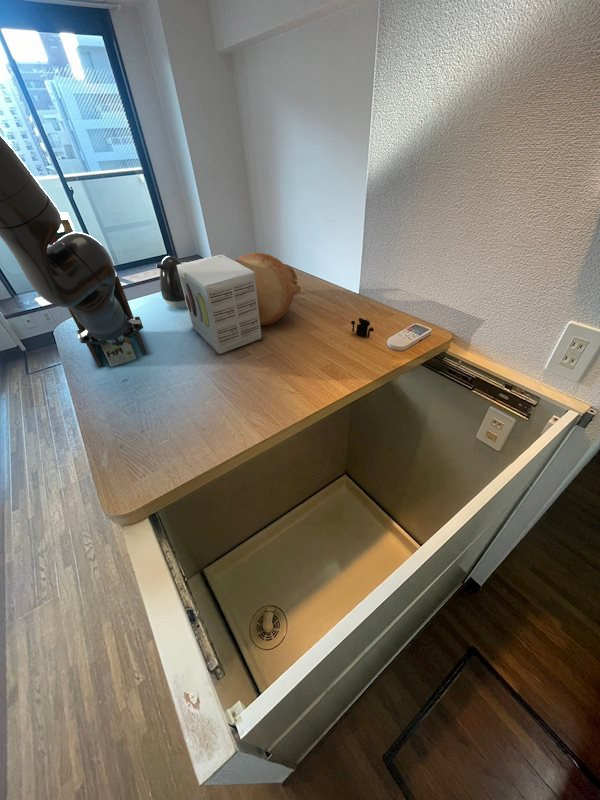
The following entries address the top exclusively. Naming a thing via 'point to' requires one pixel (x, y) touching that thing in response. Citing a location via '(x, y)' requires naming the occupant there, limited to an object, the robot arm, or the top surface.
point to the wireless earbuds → (362, 327)
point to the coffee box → (118, 352)
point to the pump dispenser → (171, 283)
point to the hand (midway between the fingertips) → (118, 341)
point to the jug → (271, 285)
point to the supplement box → (221, 301)
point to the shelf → (118, 293)
